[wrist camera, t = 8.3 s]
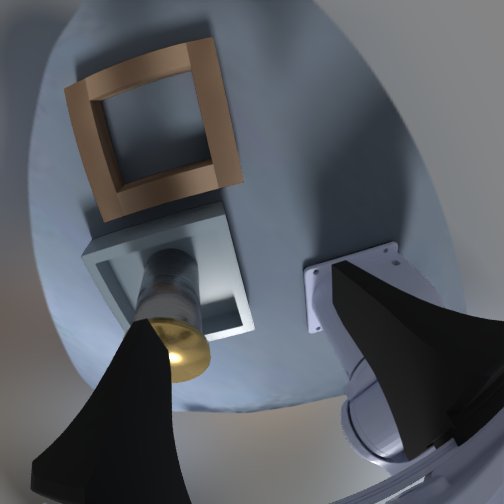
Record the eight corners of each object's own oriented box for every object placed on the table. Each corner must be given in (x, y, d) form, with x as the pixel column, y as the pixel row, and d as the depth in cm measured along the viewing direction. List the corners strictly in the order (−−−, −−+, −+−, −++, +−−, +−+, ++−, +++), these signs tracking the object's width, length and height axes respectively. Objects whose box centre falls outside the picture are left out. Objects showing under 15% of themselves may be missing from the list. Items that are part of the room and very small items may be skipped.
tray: (221, 201, 18) (225, 214, 16) (249, 309, 23) (255, 329, 21) (92, 239, 17) (80, 256, 15) (143, 333, 22) (140, 354, 20)
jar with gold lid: (192, 237, 18) (194, 317, 11) (209, 289, 21) (220, 374, 14) (132, 253, 18) (105, 335, 11) (154, 302, 20) (145, 387, 13)
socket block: (211, 44, 13) (213, 36, 11) (239, 174, 17) (243, 182, 16) (77, 90, 12) (64, 89, 10) (112, 211, 17) (104, 222, 15)
